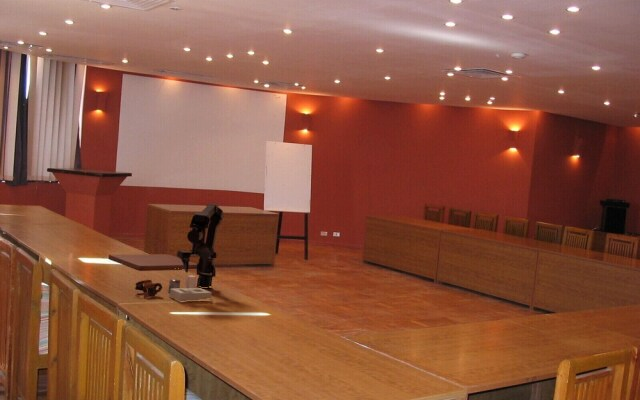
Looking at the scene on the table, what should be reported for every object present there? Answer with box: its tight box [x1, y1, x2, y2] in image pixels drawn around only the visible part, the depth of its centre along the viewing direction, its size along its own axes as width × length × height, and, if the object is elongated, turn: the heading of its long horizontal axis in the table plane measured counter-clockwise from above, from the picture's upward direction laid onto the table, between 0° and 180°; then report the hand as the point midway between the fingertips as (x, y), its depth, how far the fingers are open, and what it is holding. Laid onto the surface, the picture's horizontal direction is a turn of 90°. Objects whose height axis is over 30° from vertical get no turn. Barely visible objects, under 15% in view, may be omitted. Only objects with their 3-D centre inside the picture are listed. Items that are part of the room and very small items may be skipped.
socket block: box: [168, 287, 213, 301], centre depth 322 cm, size 16×10×4 cm, turn 130°
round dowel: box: [168, 278, 181, 293], centre depth 332 cm, size 5×5×6 cm
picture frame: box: [108, 253, 198, 271], centre depth 402 cm, size 40×3×33 cm
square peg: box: [185, 275, 197, 288], centre depth 336 cm, size 3×3×8 cm
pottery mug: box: [134, 279, 163, 298], centre depth 319 cm, size 12×10×8 cm
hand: (195, 272), depth 331 cm, fingers open, 9 cm apart
